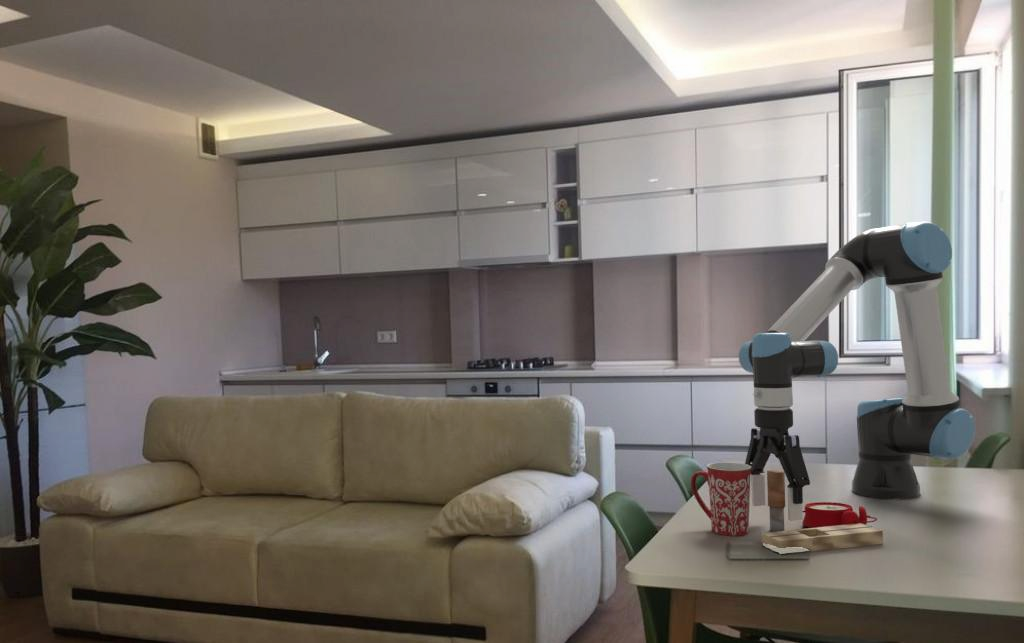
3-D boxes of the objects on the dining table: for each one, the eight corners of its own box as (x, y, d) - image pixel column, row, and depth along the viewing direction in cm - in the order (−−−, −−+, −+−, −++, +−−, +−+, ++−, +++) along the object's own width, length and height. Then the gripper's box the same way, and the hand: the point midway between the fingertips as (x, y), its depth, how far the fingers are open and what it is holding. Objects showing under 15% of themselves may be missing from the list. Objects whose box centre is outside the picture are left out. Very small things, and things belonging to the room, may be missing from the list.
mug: (760, 529, 160) (758, 464, 160) (744, 539, 152) (741, 471, 153) (702, 521, 167) (700, 459, 167) (684, 530, 160) (682, 465, 160)
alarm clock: (809, 501, 168) (878, 491, 158) (817, 530, 166) (887, 522, 156) (787, 508, 161) (857, 498, 150) (795, 539, 159) (867, 531, 149)
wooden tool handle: (779, 527, 160) (778, 469, 161) (789, 531, 157) (787, 472, 157) (765, 529, 160) (763, 470, 160) (774, 533, 156) (773, 473, 156)
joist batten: (861, 535, 153) (861, 522, 153) (883, 543, 147) (882, 530, 147) (762, 546, 147) (761, 532, 147) (780, 554, 142) (779, 540, 142)
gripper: (726, 403, 170) (729, 501, 169) (792, 414, 146) (795, 528, 145) (757, 402, 171) (760, 498, 171) (827, 412, 148) (830, 524, 147)
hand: (776, 512), depth 158 cm, fingers open, 12 cm apart
